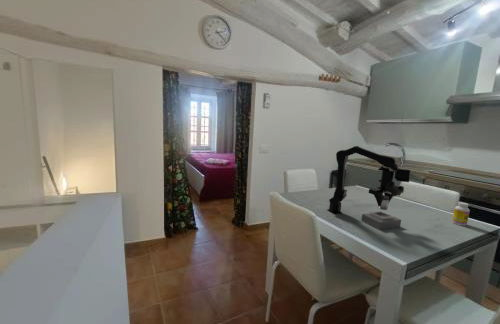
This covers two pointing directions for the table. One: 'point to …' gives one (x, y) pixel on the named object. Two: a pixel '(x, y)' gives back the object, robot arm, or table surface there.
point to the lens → (384, 203)
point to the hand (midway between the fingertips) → (382, 205)
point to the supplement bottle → (461, 214)
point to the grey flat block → (381, 220)
